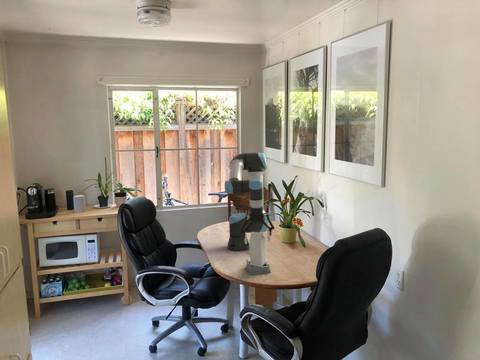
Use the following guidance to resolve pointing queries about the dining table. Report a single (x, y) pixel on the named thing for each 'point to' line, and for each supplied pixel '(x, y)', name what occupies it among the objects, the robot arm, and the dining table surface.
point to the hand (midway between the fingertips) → (257, 242)
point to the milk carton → (257, 249)
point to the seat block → (257, 268)
